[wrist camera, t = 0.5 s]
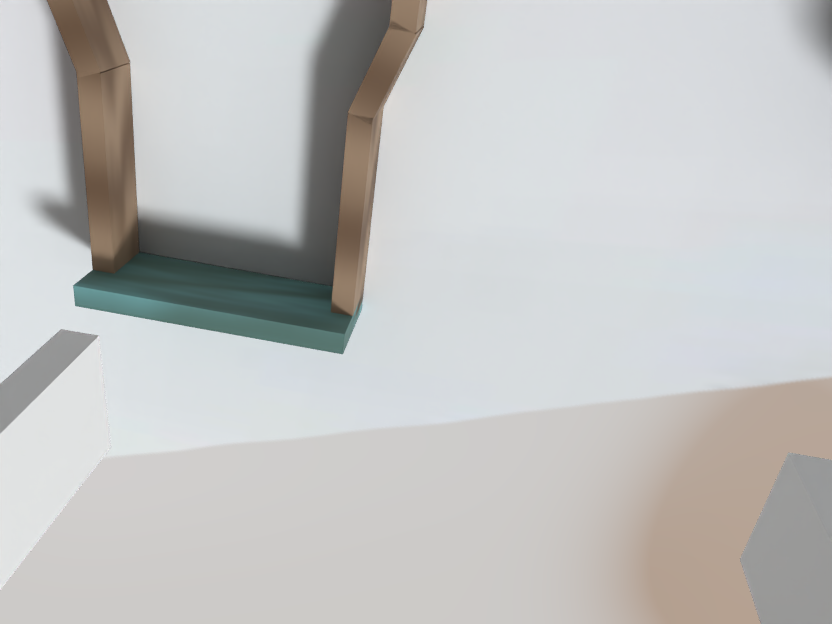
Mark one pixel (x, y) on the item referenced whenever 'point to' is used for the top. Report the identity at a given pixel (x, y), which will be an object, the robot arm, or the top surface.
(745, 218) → the top surface
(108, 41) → the brown wooden frame
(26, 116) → the top surface
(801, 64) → the top surface
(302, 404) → the top surface
